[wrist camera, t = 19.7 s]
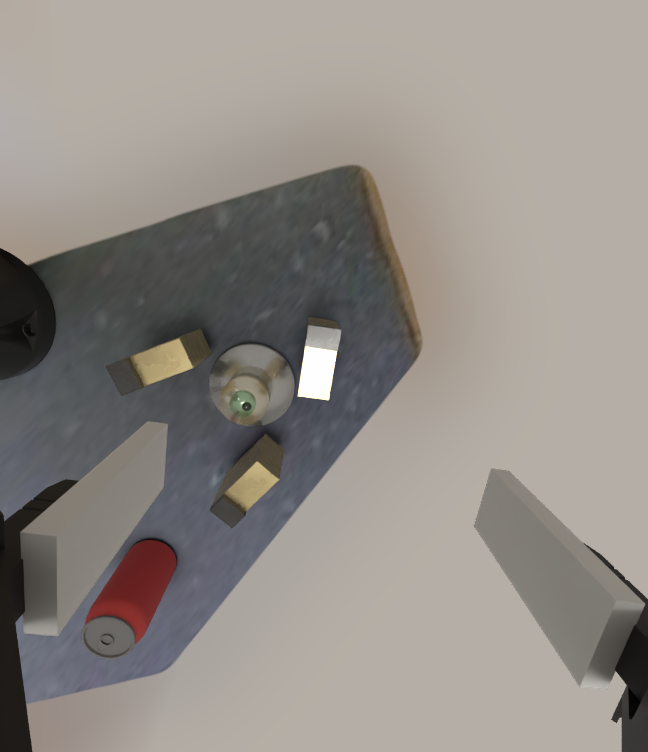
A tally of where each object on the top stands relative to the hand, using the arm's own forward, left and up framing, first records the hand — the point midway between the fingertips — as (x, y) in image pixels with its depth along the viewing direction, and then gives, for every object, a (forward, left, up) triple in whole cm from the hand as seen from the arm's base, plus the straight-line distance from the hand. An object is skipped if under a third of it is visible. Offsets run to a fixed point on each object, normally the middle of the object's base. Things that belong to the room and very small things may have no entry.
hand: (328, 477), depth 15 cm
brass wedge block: (+8, -13, -28) cm, 32 cm away
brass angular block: (0, 0, -28) cm, 28 cm away
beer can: (+13, -34, -31) cm, 48 cm away
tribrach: (0, -7, -31) cm, 31 cm away
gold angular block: (-8, -14, -28) cm, 32 cm away
